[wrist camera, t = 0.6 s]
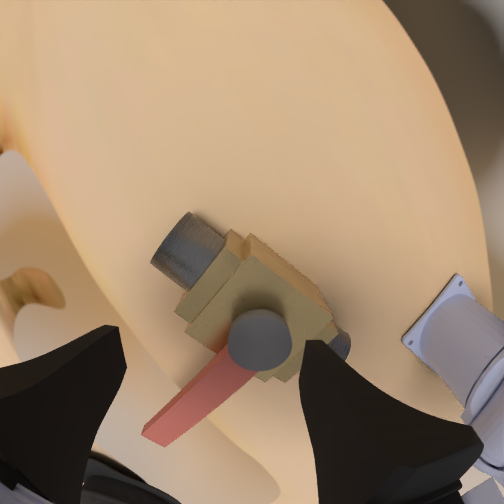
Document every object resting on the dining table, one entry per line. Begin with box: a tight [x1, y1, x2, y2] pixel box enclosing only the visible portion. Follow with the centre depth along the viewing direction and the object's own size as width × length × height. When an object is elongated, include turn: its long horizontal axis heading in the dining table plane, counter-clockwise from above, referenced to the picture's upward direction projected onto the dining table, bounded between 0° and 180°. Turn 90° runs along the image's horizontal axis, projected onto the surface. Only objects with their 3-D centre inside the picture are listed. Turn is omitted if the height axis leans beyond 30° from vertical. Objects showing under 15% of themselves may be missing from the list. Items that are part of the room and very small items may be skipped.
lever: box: [141, 309, 292, 447], centre depth 15 cm, size 3×14×1 cm, turn 141°
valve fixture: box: [150, 212, 351, 382], centre depth 17 cm, size 14×6×6 cm, turn 51°
